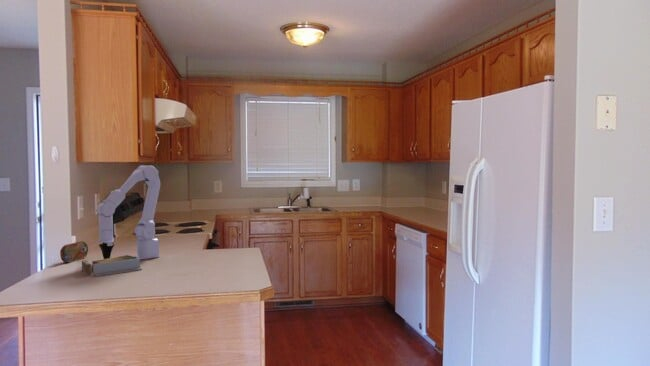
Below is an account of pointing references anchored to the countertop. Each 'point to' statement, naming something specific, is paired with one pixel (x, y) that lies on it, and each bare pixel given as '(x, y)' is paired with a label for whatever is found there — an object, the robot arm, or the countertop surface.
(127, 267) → the grey long block
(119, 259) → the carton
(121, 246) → the countertop surface
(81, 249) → the tin
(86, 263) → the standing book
